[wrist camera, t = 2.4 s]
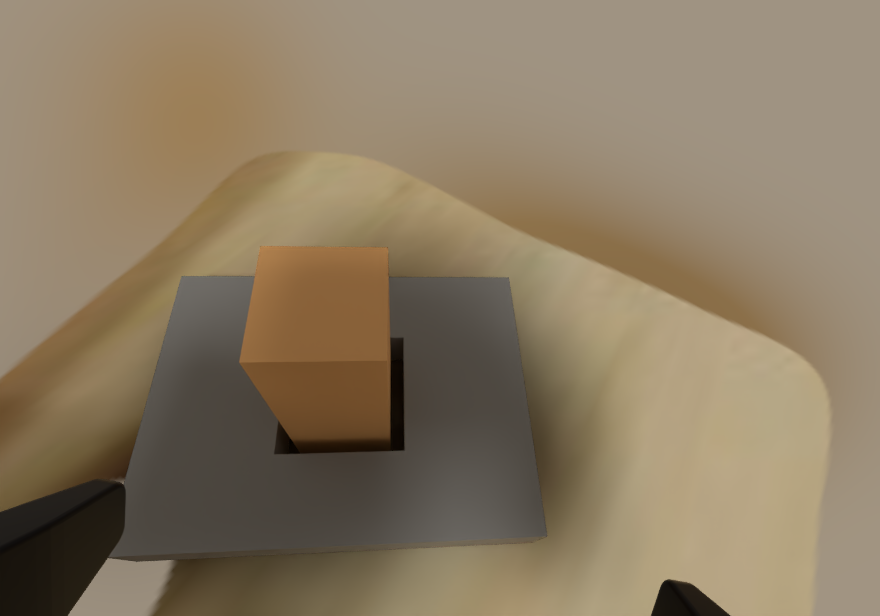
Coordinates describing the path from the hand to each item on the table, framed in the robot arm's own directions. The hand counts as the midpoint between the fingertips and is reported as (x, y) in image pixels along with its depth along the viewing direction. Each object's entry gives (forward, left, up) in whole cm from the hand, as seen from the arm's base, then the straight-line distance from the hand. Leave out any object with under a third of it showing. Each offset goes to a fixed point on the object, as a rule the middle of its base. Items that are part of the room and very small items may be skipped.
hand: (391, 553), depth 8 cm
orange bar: (+7, +2, -13) cm, 15 cm away
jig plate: (+7, +2, -13) cm, 15 cm away
